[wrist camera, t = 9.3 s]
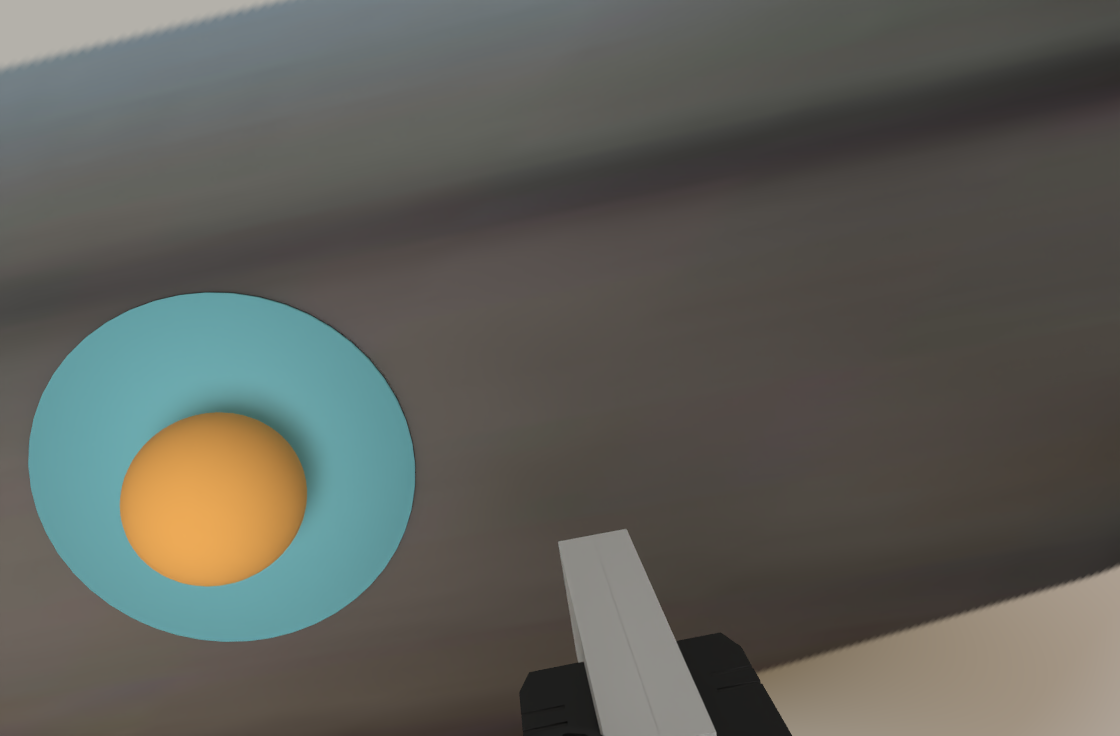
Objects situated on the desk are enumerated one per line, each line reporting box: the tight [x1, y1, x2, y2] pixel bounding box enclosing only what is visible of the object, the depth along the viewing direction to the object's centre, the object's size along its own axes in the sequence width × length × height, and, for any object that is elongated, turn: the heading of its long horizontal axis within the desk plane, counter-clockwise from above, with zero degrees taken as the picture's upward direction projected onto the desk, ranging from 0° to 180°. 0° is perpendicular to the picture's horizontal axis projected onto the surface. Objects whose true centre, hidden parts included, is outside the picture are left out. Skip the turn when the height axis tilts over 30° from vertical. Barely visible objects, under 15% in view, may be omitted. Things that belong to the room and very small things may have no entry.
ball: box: [120, 412, 307, 587], centre depth 26 cm, size 6×6×6 cm
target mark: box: [28, 292, 415, 642], centre depth 28 cm, size 13×13×1 cm
